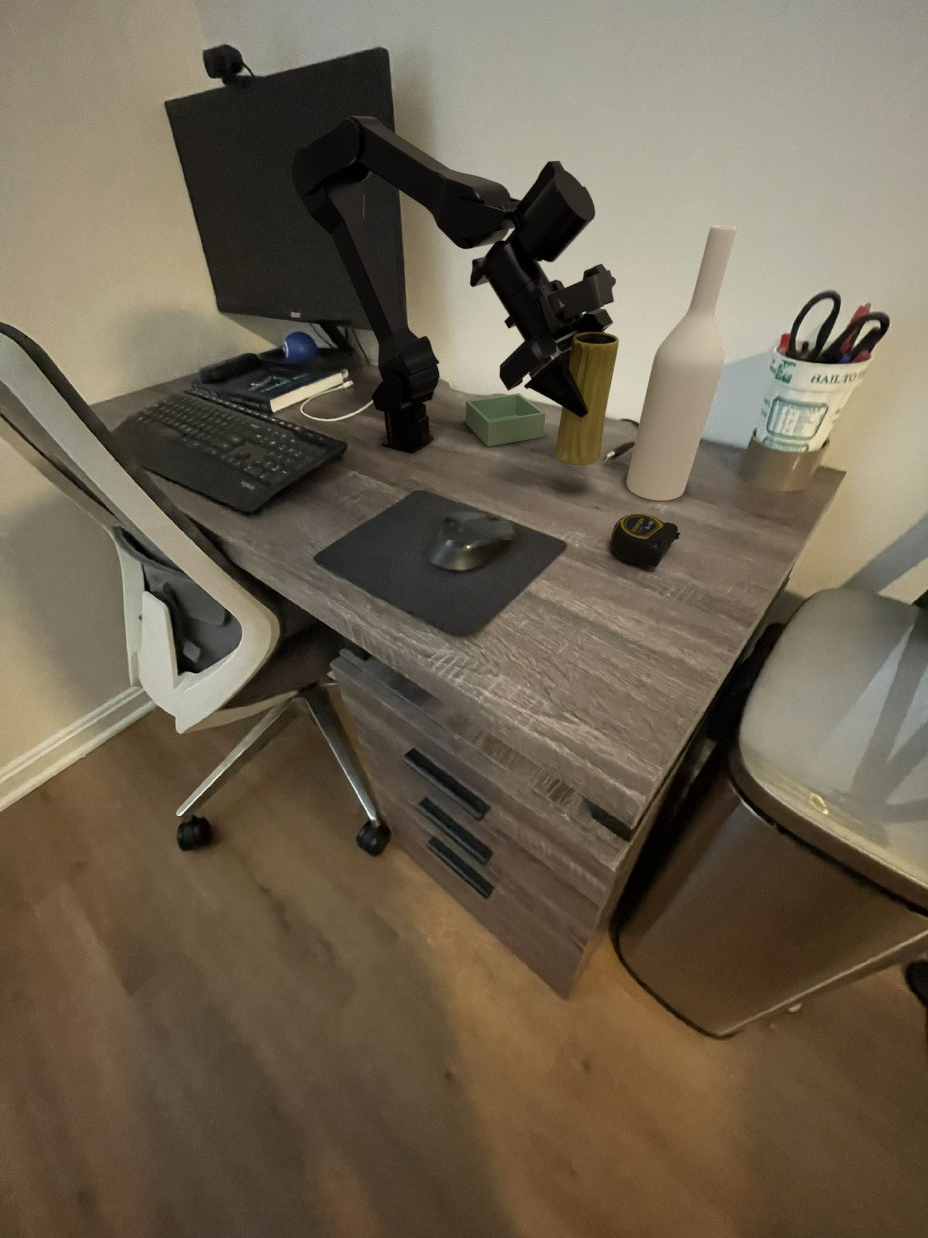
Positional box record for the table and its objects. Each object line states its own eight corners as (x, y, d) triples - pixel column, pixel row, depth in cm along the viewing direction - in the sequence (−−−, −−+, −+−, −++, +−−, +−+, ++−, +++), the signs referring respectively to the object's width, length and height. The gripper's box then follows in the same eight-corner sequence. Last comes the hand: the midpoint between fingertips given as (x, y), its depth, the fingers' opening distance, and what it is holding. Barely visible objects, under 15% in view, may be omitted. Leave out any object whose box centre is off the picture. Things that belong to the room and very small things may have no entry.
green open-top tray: (487, 446, 85) (488, 422, 82) (465, 423, 92) (465, 400, 89) (543, 437, 87) (545, 413, 85) (517, 415, 94) (519, 392, 92)
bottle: (616, 490, 74) (671, 227, 53) (639, 469, 78) (698, 220, 58) (671, 507, 70) (753, 232, 50) (692, 484, 75) (775, 224, 54)
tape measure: (653, 577, 59) (662, 550, 56) (598, 556, 62) (604, 529, 59) (675, 549, 63) (684, 523, 60) (622, 531, 66) (629, 505, 63)
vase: (606, 451, 70) (629, 334, 60) (590, 470, 66) (613, 348, 56) (564, 441, 72) (580, 327, 62) (546, 459, 68) (560, 340, 58)
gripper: (531, 248, 49) (617, 392, 52) (612, 227, 60) (679, 347, 63) (464, 327, 58) (540, 447, 61) (545, 297, 69) (606, 399, 72)
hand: (595, 408), depth 64 cm, fingers closed on vase, 5 cm apart
